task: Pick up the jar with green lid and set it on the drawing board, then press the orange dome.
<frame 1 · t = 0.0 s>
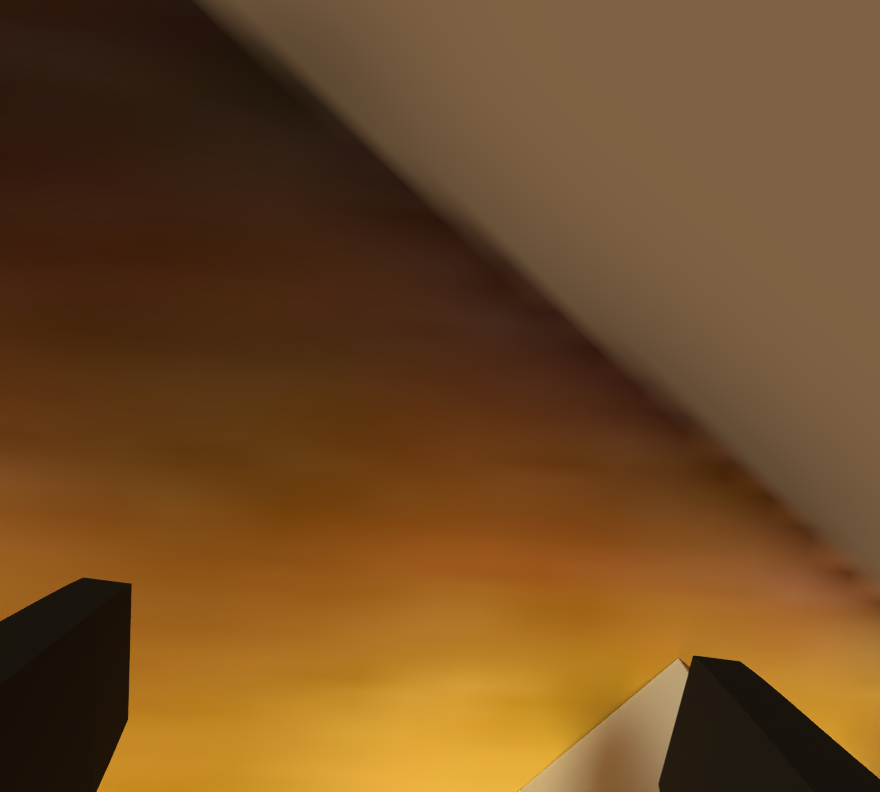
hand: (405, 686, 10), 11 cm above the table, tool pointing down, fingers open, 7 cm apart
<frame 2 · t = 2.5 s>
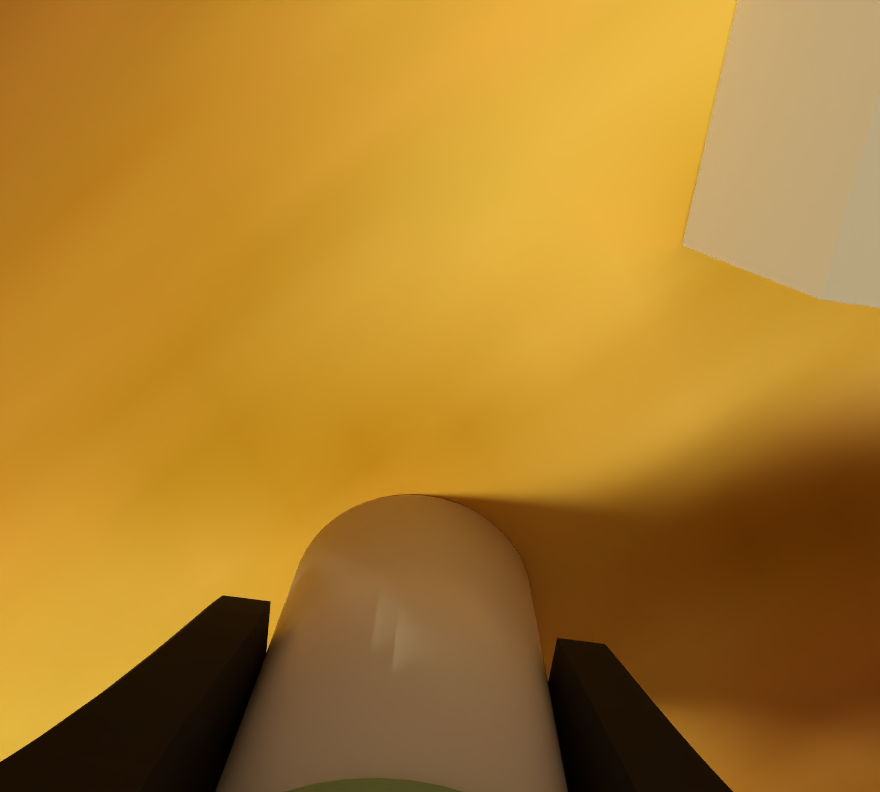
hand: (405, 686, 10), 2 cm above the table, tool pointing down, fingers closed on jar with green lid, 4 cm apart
jar with green lid: (412, 604, 12), on the table, touching gripper
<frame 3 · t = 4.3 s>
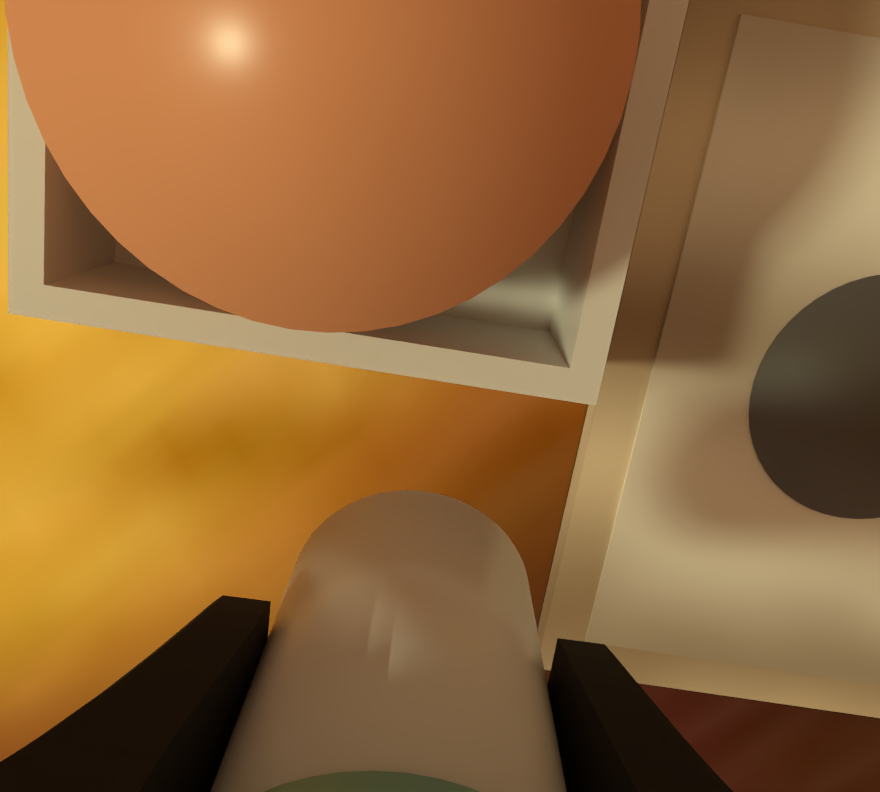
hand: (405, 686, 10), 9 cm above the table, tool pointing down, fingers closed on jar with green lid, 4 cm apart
orange dome: (339, 40, 12), point 4 cm above the table, slide at 0.0 cm
open square beige box: (367, 68, 16), on the table
drawing board: (858, 389, 18), on the table
jar with green lid: (410, 600, 12), point 7 cm above the table, touching gripper
when the fingers open (4 cm above the table, at t = 6.3 s): jar with green lid stays where it is, resting on drawing board.
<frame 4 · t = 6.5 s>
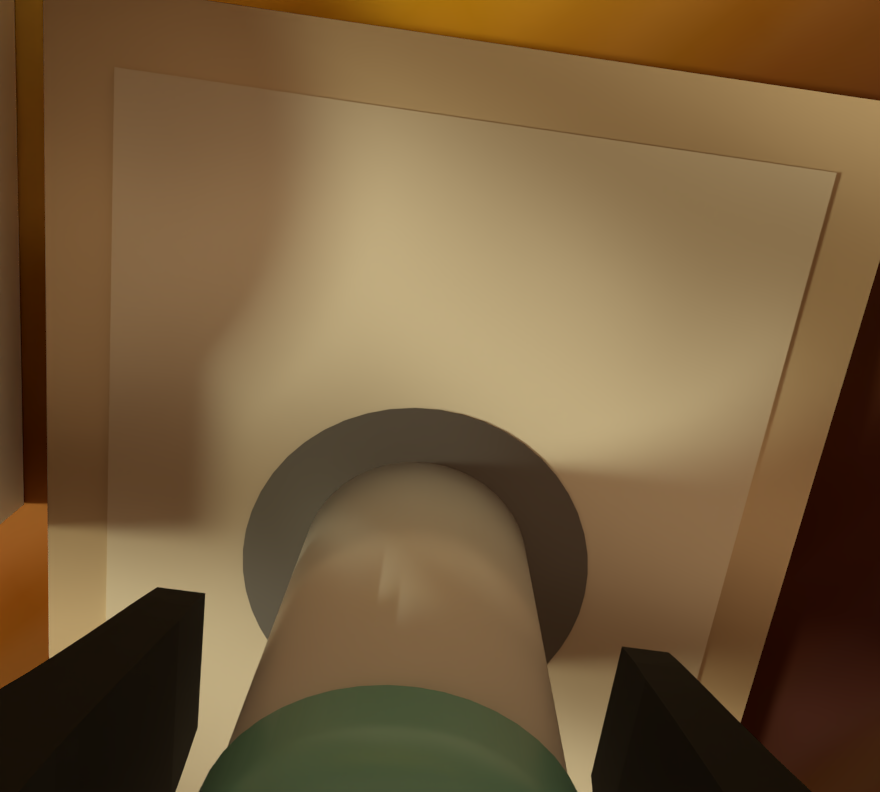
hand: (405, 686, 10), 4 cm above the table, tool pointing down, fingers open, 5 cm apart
drawing board: (417, 545, 14), on the table
jar with green lid: (414, 565, 13), point 1 cm above the table, touching drawing board
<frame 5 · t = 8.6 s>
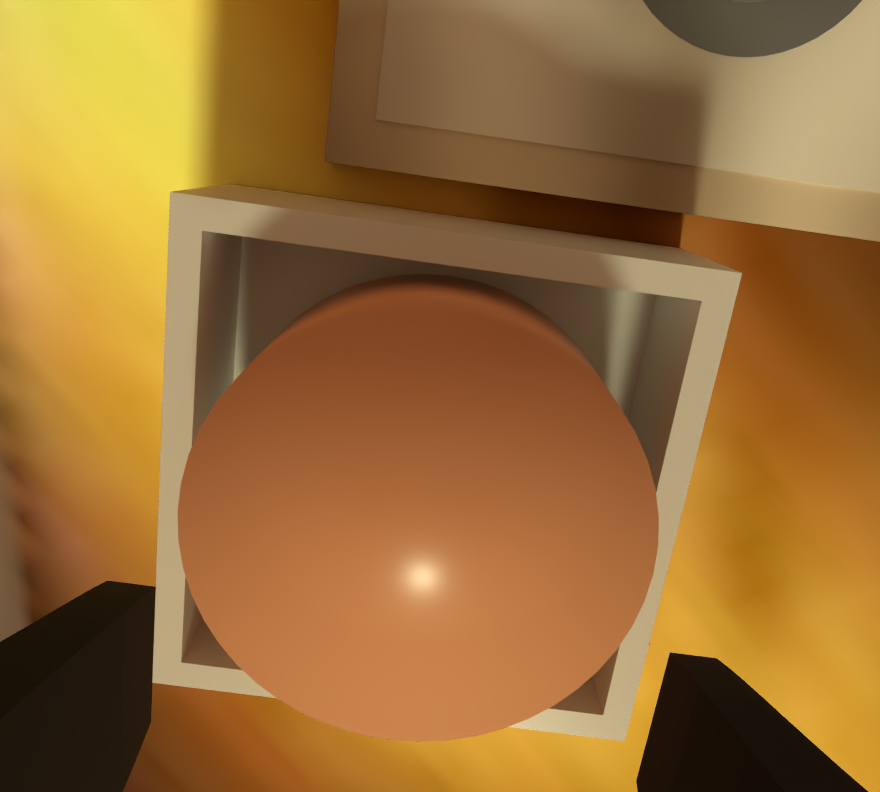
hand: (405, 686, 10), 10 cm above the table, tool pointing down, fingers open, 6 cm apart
orange dome: (421, 501, 15), point 4 cm above the table, slide at 0.0 cm
open square beige box: (427, 428, 20), on the table
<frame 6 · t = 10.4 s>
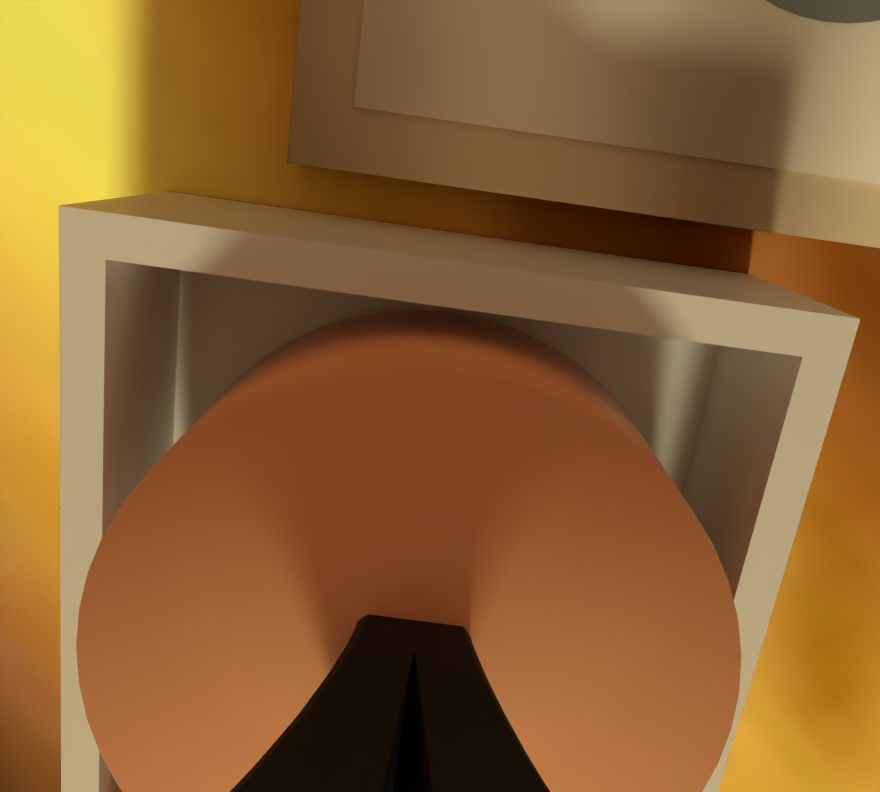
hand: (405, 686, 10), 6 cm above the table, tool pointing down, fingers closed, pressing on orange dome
orange dome: (413, 611, 12), point 4 cm above the table, slide at 0.3 cm, touching gripper
open square beige box: (422, 499, 15), on the table
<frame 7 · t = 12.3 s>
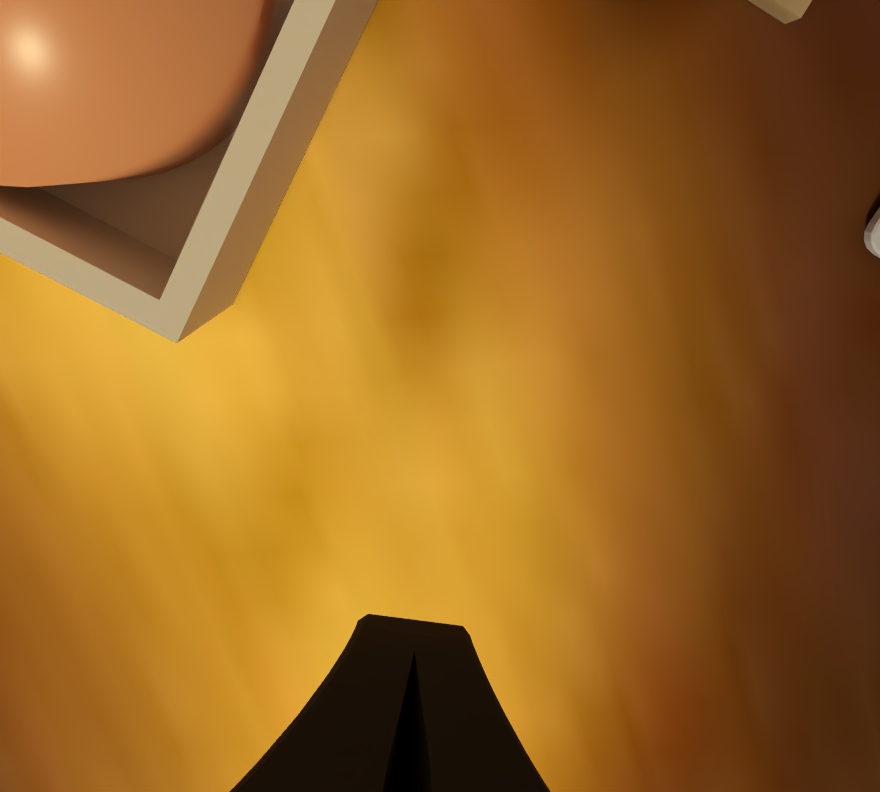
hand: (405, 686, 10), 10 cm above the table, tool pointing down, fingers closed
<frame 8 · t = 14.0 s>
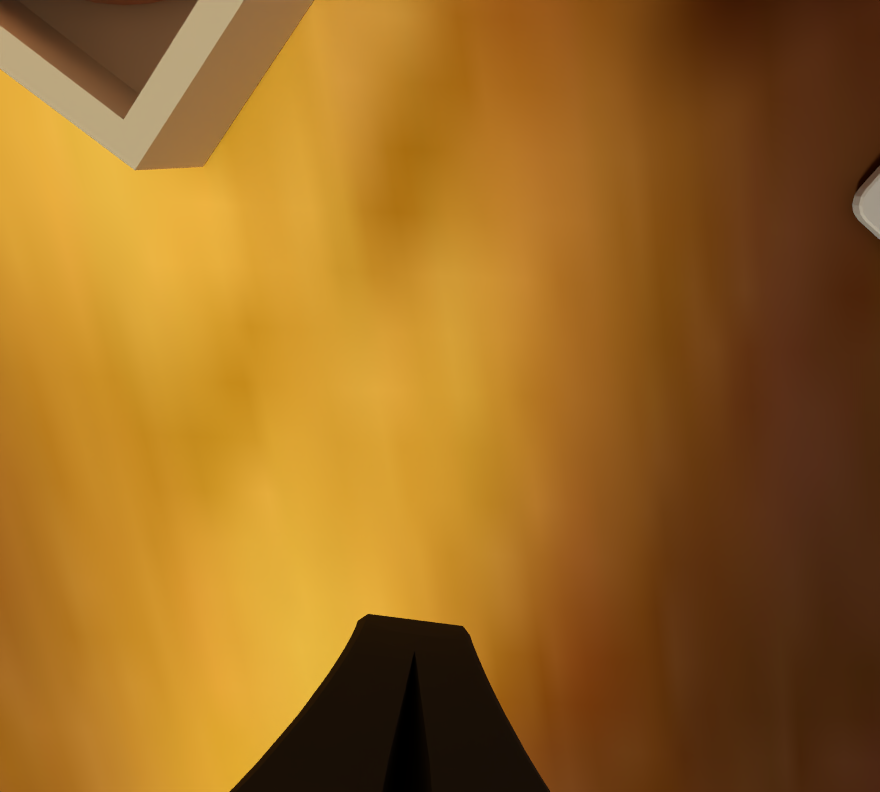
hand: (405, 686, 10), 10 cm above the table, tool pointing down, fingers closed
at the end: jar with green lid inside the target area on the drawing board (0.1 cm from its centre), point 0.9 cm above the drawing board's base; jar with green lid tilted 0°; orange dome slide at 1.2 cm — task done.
